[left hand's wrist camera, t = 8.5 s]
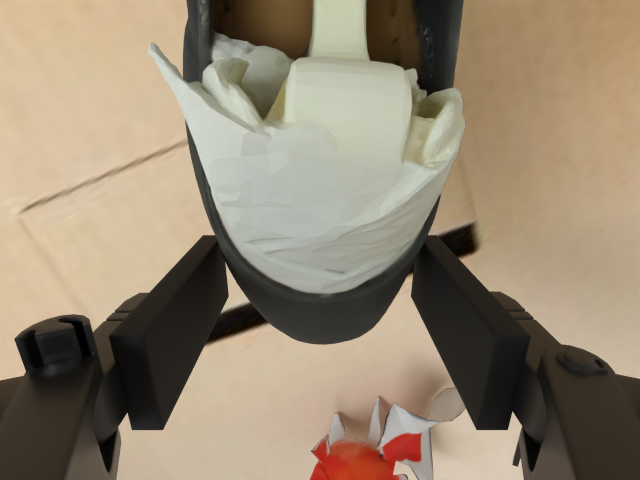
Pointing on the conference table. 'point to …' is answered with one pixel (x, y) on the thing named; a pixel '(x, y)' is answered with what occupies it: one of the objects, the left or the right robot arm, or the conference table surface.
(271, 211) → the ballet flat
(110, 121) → the conference table surface
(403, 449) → the fish
